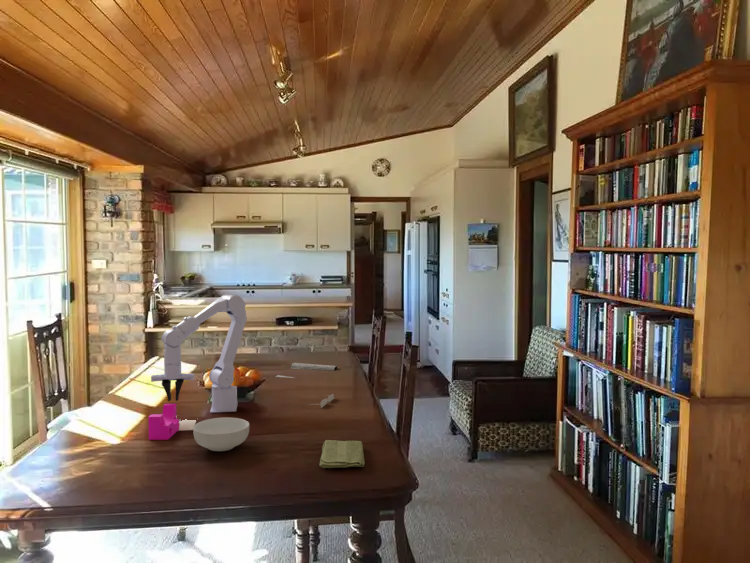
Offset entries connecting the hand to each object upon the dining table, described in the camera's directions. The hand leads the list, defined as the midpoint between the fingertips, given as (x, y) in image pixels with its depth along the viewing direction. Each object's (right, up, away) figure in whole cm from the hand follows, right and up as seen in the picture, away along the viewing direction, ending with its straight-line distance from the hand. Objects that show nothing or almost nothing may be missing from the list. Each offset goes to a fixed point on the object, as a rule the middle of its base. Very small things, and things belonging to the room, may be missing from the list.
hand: (173, 400), depth 203 cm
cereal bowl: (+25, -9, -28) cm, 39 cm away
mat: (+40, -4, +67) cm, 78 cm away
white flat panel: (+2, -7, -3) cm, 8 cm away
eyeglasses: (+51, -7, +19) cm, 55 cm away
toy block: (+3, -8, -14) cm, 17 cm away
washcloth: (+63, -10, -36) cm, 74 cm away
